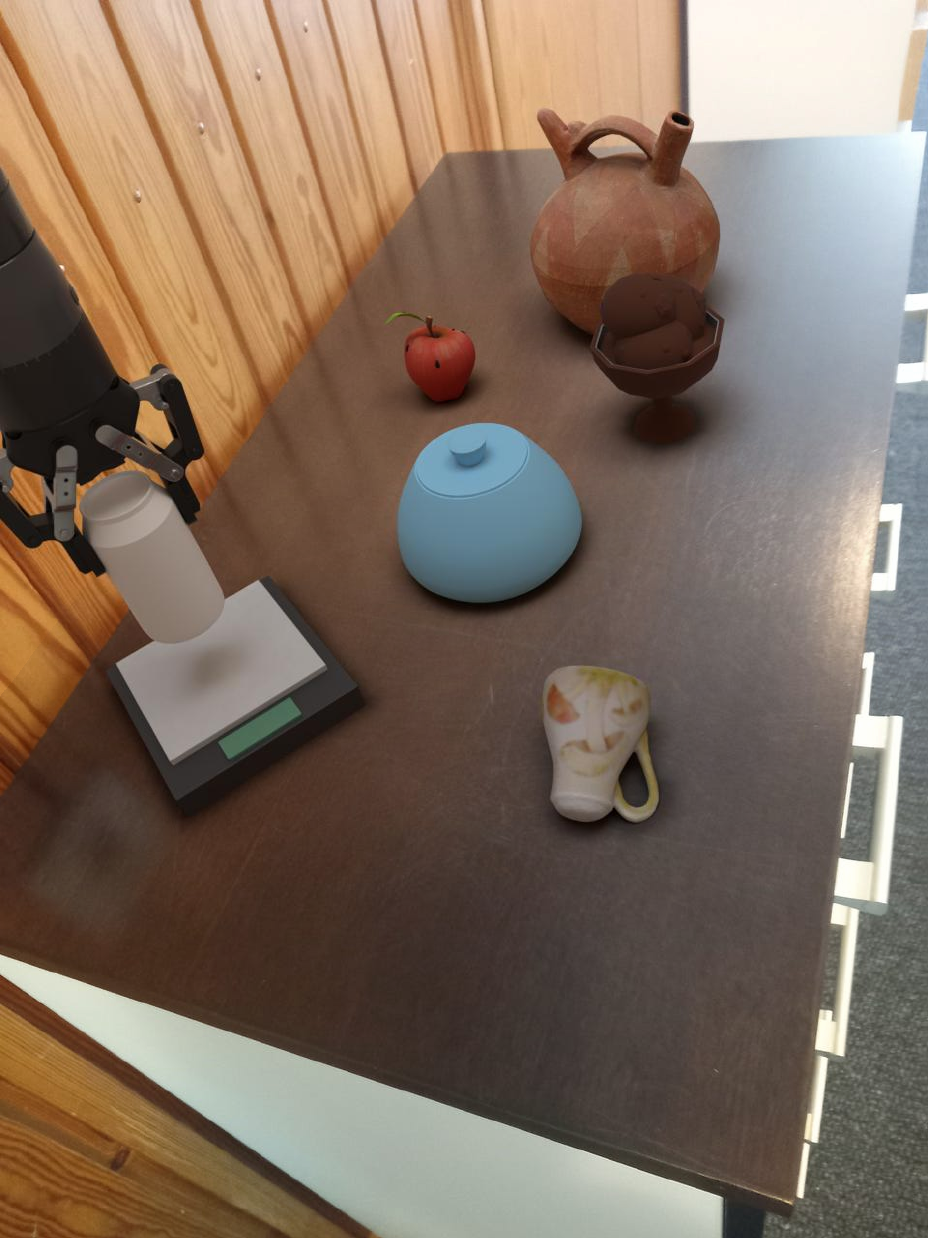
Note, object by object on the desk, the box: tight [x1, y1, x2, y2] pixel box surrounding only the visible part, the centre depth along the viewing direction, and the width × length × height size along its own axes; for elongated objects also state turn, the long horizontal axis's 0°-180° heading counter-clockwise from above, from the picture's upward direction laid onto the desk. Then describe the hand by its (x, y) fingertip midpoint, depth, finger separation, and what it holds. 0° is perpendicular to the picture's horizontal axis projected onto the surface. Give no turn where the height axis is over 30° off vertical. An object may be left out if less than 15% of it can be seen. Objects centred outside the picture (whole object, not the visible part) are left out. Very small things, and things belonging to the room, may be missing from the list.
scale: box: [105, 575, 367, 819], centre depth 79 cm, size 15×16×3 cm
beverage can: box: [78, 469, 226, 644], centre depth 71 cm, size 6×6×12 cm
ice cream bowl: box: [589, 273, 725, 445], centre depth 86 cm, size 11×11×15 cm
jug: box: [529, 107, 721, 337], centre depth 98 cm, size 18×18×20 cm
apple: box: [381, 311, 476, 403], centre depth 99 cm, size 8×7×10 cm
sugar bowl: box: [396, 422, 583, 604], centre depth 81 cm, size 15×15×12 cm
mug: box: [540, 665, 660, 824], centre depth 67 cm, size 8×10×10 cm
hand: (143, 542), depth 69 cm, fingers closed on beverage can, 6 cm apart
